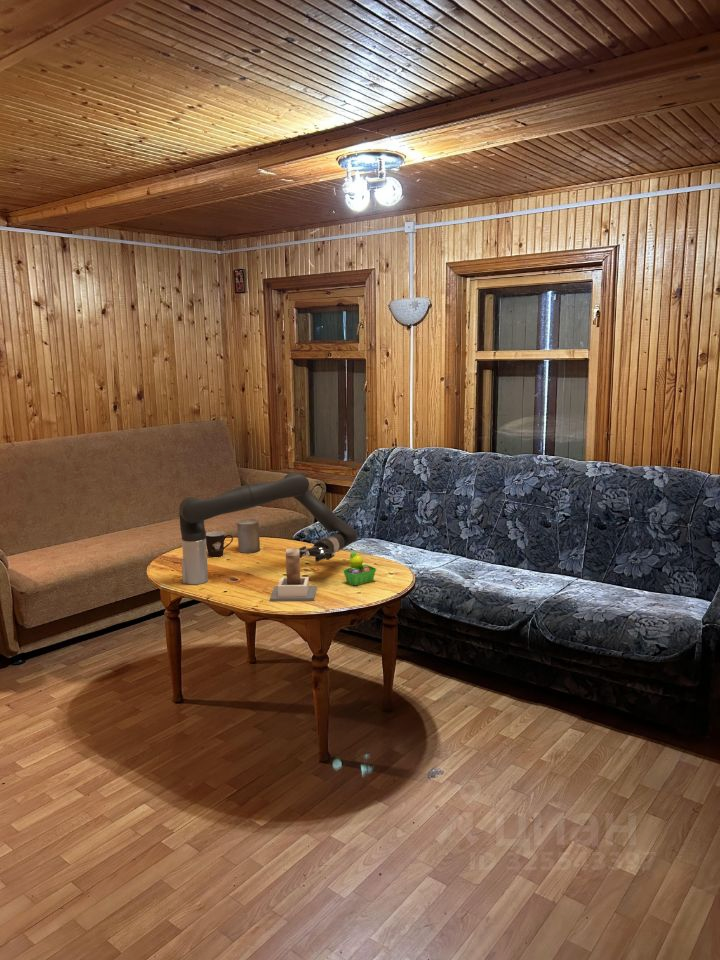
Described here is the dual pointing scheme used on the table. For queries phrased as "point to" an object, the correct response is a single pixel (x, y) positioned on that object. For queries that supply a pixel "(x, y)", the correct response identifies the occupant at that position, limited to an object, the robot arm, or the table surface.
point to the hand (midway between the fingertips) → (306, 557)
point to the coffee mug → (216, 543)
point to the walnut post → (293, 566)
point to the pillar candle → (248, 535)
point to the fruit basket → (358, 571)
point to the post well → (293, 591)
